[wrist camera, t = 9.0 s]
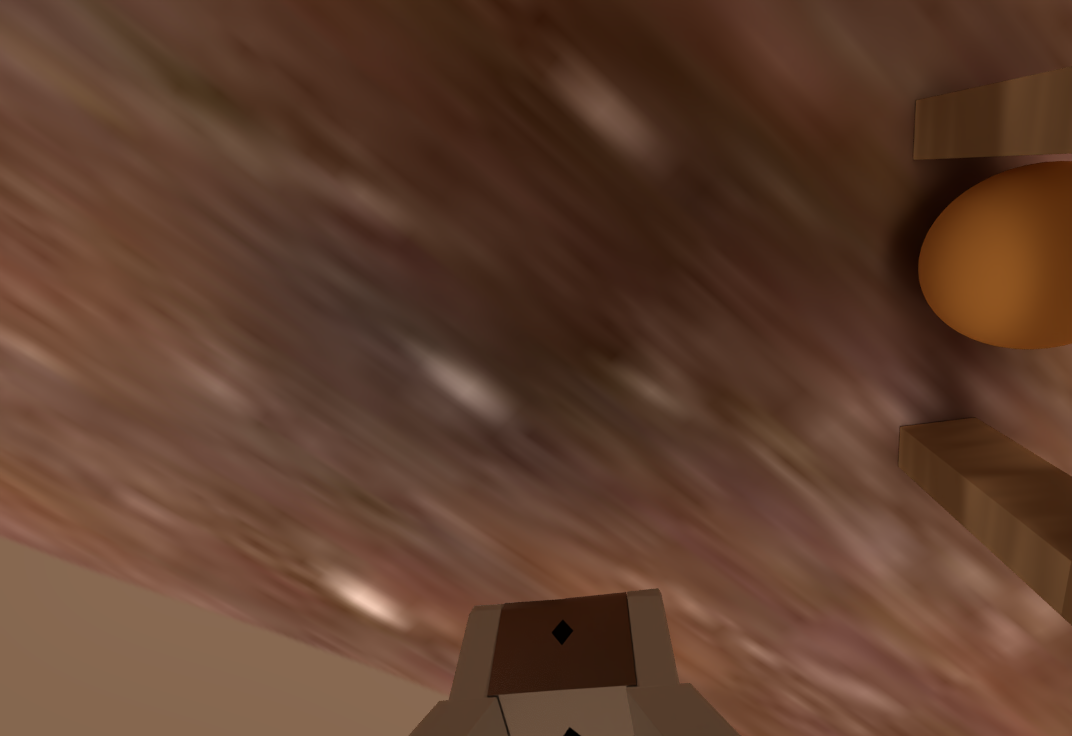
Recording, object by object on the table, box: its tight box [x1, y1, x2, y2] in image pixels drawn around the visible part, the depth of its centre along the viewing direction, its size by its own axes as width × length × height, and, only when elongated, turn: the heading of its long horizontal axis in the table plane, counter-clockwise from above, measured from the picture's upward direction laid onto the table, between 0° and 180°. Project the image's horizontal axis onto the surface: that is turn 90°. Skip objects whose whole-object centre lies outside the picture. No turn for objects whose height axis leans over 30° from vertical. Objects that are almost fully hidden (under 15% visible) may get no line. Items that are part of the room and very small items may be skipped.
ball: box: [918, 161, 1072, 349], centre depth 17 cm, size 6×6×6 cm
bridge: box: [898, 66, 1072, 625], centre depth 16 cm, size 3×15×10 cm, turn 11°
